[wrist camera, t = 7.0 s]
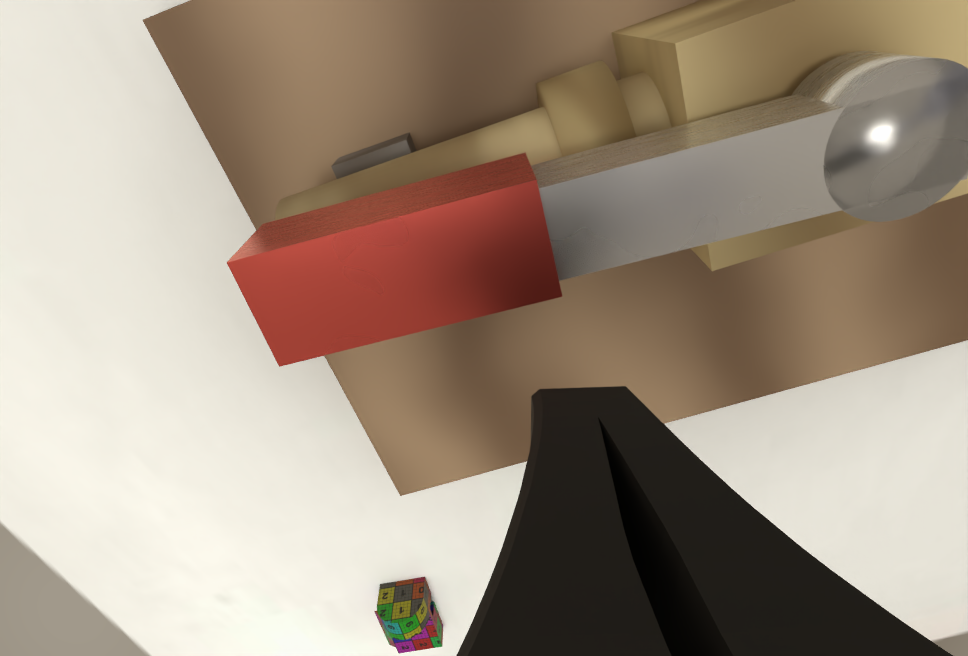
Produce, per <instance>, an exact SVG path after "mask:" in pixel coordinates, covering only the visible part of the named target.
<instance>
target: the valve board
mask: <svg viewBox="0 0 968 656" xmlns="http://www.w3.org/2000/svg"><path fill="white" fill-rule="evenodd" d="M143 22H144V24H145V26H146V27H147V29H148V31H149V33H150V35H151V37H152V39H153V40H154V42H155V44H156V46H157V48H158V50H159V51H160V53H161V55H162V57H163V59H164V61H165V62H166V64H167V66H168V68H169V70H170V72H171V74H172V75H173V77H174V79H175V81H176V83H177V85H178V86H179V88H180V90H181V92H182V94H183V96H184V98H185V99H186V101H187V103H188V105H189V107H190V109H191V110H192V112H193V114H194V116H195V118H196V120H197V122H198V123H199V125H200V127H201V129H202V131H203V133H204V134H205V136H206V138H207V140H208V142H209V144H210V145H211V147H212V149H213V151H214V153H215V155H216V157H217V158H218V160H219V162H220V164H221V166H222V168H223V169H224V171H225V173H226V175H227V177H228V179H229V181H230V182H231V184H232V186H233V188H234V190H235V192H236V193H237V195H238V197H239V199H240V201H241V203H242V204H243V206H244V208H245V210H246V212H247V214H248V216H249V217H250V219H251V221H252V223H253V225H254V227H255V228H256V230H258V229H259V228H260V226H261V225H262V224H264V223H268V222H272V221H275V220H279V219H283V218H286V217H290V216H294V215H297V214H301V213H305V212H308V211H312V210H316V209H319V208H323V207H327V206H330V205H334V204H338V203H341V202H345V201H349V200H352V199H356V198H360V197H363V196H367V195H371V194H374V193H378V192H382V191H386V190H389V189H393V188H397V187H400V186H404V185H408V184H411V183H415V182H419V181H422V180H426V179H430V178H433V177H437V176H441V175H444V174H448V173H452V172H455V171H459V170H463V169H466V168H470V167H474V166H477V165H481V164H485V163H488V162H492V161H496V160H499V159H503V158H507V157H510V156H514V155H518V154H521V153H526V155H527V158H528V160H529V162H530V165H535V164H538V163H542V162H546V161H549V160H553V159H557V158H560V157H564V156H568V155H572V154H575V153H579V152H583V151H586V150H590V149H594V148H598V147H601V146H605V145H609V144H612V143H616V142H620V141H623V140H627V139H631V138H635V137H638V136H642V135H646V134H649V133H653V132H657V131H660V130H664V129H668V128H672V127H675V126H679V125H683V124H686V123H690V122H694V121H698V120H701V119H705V118H709V117H712V116H716V115H720V114H723V113H727V112H731V111H735V110H738V109H742V108H746V107H749V106H753V105H757V104H760V103H764V102H768V101H772V100H775V99H779V98H783V97H786V96H790V95H792V94H793V92H794V91H795V89H796V88H797V87H798V86H799V85H800V83H801V82H802V81H803V80H804V79H805V78H806V77H807V76H808V75H809V74H811V73H812V72H813V71H814V70H816V69H817V68H818V67H820V66H821V65H823V64H825V63H826V62H828V61H830V60H832V59H834V58H836V57H838V56H841V55H844V54H847V53H852V52H857V51H875V52H884V53H894V54H903V55H913V56H922V57H931V58H941V59H947V60H951V61H954V62H957V63H959V64H961V65H963V66H965V67H966V68H968V0H190V1H188V2H186V3H183V4H181V5H178V6H176V7H173V8H171V9H168V10H166V11H163V12H161V13H159V14H156V15H154V16H151V17H149V18H146V19H144V20H143ZM559 283H560V288H561V292H562V297H559V298H555V299H551V300H547V301H543V302H539V303H535V304H531V305H527V306H523V307H519V308H515V309H510V310H506V311H502V312H498V313H494V314H490V315H486V316H482V317H478V318H474V319H470V320H466V321H462V322H458V323H454V324H450V325H446V326H442V327H437V328H433V329H429V330H425V331H421V332H417V333H413V334H409V335H405V336H401V337H397V338H393V339H389V340H385V341H381V342H377V343H373V344H369V345H365V346H360V347H356V348H352V349H348V350H344V351H340V352H336V353H332V354H328V355H324V356H325V358H326V359H327V361H328V363H329V365H330V367H331V369H332V370H333V372H334V374H335V376H336V378H337V380H338V382H339V383H340V385H341V387H342V389H343V391H344V393H345V394H346V396H347V398H348V400H349V402H350V404H351V405H352V407H353V409H354V411H355V413H356V415H357V417H358V418H359V420H360V422H361V424H362V426H363V428H364V429H365V431H366V433H367V435H368V437H369V439H370V441H371V442H372V444H373V446H374V448H375V450H376V452H377V453H378V455H379V457H380V459H381V461H382V463H383V465H384V466H385V468H386V470H387V472H388V474H389V476H390V477H391V479H392V481H393V483H394V485H395V487H396V488H397V490H398V492H399V494H400V496H402V495H406V494H409V493H413V492H416V491H420V490H424V489H427V488H431V487H435V486H438V485H442V484H446V483H449V482H453V481H457V480H460V479H464V478H467V477H471V476H475V475H478V474H482V473H486V472H489V471H493V470H497V469H500V468H504V467H507V466H511V465H515V464H518V463H522V462H526V461H527V460H528V456H529V452H530V445H531V396H532V395H533V394H534V393H535V392H537V391H538V390H539V389H553V388H583V387H613V386H626V387H627V388H628V389H629V390H630V391H631V392H632V393H633V394H634V395H635V396H636V397H637V398H638V399H639V400H640V401H641V402H642V403H643V404H644V405H645V406H646V407H647V408H648V409H649V410H650V411H651V412H652V413H653V414H654V415H655V416H656V417H657V418H658V419H659V420H660V421H661V422H662V423H663V424H664V423H668V422H671V421H675V420H679V419H682V418H686V417H690V416H693V415H697V414H700V413H704V412H708V411H711V410H715V409H719V408H722V407H726V406H730V405H733V404H737V403H740V402H744V401H748V400H751V399H755V398H759V397H762V396H766V395H770V394H773V393H777V392H781V391H784V390H788V389H791V388H795V387H799V386H802V385H806V384H810V383H813V382H817V381H821V380H824V379H828V378H831V377H835V376H839V375H842V374H846V373H850V372H853V371H857V370H861V369H864V368H868V367H872V366H875V365H879V364H882V363H886V362H890V361H893V360H897V359H901V358H904V357H908V356H912V355H915V354H919V353H922V352H926V351H930V350H933V349H937V348H941V347H944V346H948V345H952V344H955V343H959V342H963V341H966V340H968V179H965V180H961V181H960V182H959V183H958V184H957V185H956V186H955V187H954V188H953V189H952V190H951V191H950V192H949V193H947V194H946V195H945V196H944V197H942V198H941V199H940V200H939V201H937V202H936V203H934V204H933V205H931V206H930V207H928V208H926V209H924V210H922V211H920V212H918V213H916V214H913V215H911V216H908V217H905V218H902V219H898V220H893V221H884V222H874V221H866V220H861V219H858V218H856V217H853V216H851V215H849V214H847V213H846V212H844V211H842V210H841V211H837V212H833V213H829V214H825V215H821V216H817V217H813V218H809V219H805V220H801V221H797V222H793V223H789V224H785V225H781V226H777V227H773V228H769V229H765V230H761V231H757V232H753V233H749V234H745V235H741V236H737V237H733V238H729V239H725V240H721V241H717V242H713V243H709V244H705V245H701V246H697V247H693V248H689V249H685V250H681V251H677V252H673V253H669V254H665V255H661V256H657V257H653V258H649V259H645V260H641V261H637V262H633V263H629V264H625V265H621V266H617V267H613V268H609V269H605V270H601V271H597V272H593V273H589V274H585V275H581V276H577V277H573V278H569V279H565V280H560V281H559Z"/></svg>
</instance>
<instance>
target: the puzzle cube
mask: <svg viewBox="0 0 968 656" xmlns="http://www.w3.org/2000/svg"><path fill="white" fill-rule="evenodd" d="M374 612H375V614H376V616H377V618H378V620H379V623H380V625H381V627H382V629H383V631H384V634H385V636H386V638H387V640H388V642H389V645H391V646H394V647H396V648H397V651H398V653H404V652H410V651H416V650H423V649H429V648H435V647H442V640H443V624H442V622H441V619H440V616H439V614H438V611H437V608H436V605H435V603H434V602H431V592H430V589H429V587H428V584H427V581H426V579H425V577H421V578H415V579H409V580H403V581H397V582H391V583H385V584H380V589H379V596H378V603H377V611H374Z"/></svg>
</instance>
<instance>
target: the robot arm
mask: <svg viewBox="0 0 968 656" xmlns="http://www.w3.org/2000/svg"><path fill="white" fill-rule="evenodd" d="M457 656H953V655H951V654H950V653H948V652H946V651H945V650H943V649H942V648H940V647H938V645H936V644H935V643H933V642H932V641H930V640H929V639H927V638H926V637H924V636H923V635H921V634H920V633H918V632H917V631H915V630H914V629H912V628H911V627H909V626H908V625H907V624H905V623H904V622H902V621H901V620H899V619H898V618H896V617H895V616H894V615H892V614H891V613H889V612H888V611H887V610H885V609H884V608H883V607H881V606H880V605H878V604H877V603H876V602H874V601H873V600H872V599H870V598H869V597H867V596H866V595H865V594H863V593H862V592H861V591H859V590H858V589H856V588H855V587H854V586H852V585H851V584H849V583H848V582H847V581H845V580H844V579H843V578H841V577H840V576H838V575H837V574H836V573H834V572H833V571H832V570H830V569H829V568H828V567H826V566H825V565H824V564H822V563H821V562H820V561H819V560H817V559H816V558H815V557H813V556H812V555H811V554H809V553H808V552H807V551H806V550H804V549H803V548H802V547H801V546H799V545H798V544H797V543H796V542H794V541H793V540H792V539H791V538H790V537H788V536H787V535H786V534H785V533H783V532H782V531H781V530H780V529H779V528H777V527H776V526H775V525H774V524H773V523H771V522H770V521H769V520H768V519H767V518H765V517H764V516H763V515H762V514H760V513H759V512H758V511H757V510H756V509H754V508H753V507H752V506H751V505H750V504H749V503H748V502H746V501H745V500H744V499H743V498H742V497H741V496H740V495H738V494H737V493H736V492H735V491H734V490H733V489H732V488H730V487H729V486H728V485H727V484H726V483H725V482H724V481H723V480H722V479H721V478H720V477H719V476H717V475H716V474H715V473H714V472H713V471H712V470H711V469H710V468H709V467H708V466H707V465H705V464H704V463H703V462H702V461H701V460H700V459H699V458H698V457H697V456H696V455H695V454H694V453H693V452H692V451H691V450H690V449H689V448H688V447H687V446H686V445H685V444H684V443H682V442H681V441H680V440H679V439H678V438H677V437H676V436H675V435H674V434H673V433H672V432H671V431H670V430H669V429H668V428H667V427H666V426H665V425H664V424H663V423H662V422H661V421H660V420H659V419H658V418H657V417H656V416H655V415H654V414H653V413H652V412H651V411H650V410H649V409H648V408H647V407H646V406H645V405H644V404H643V403H642V402H641V401H640V400H639V399H638V398H637V397H636V396H635V395H634V394H633V393H632V392H631V391H630V390H629V389H628V388H627V387H626V386H613V387H583V388H553V389H539V390H538V391H537V392H535V393H534V394H533V395H532V396H531V445H530V452H529V456H528V460H527V465H526V469H525V473H524V477H523V482H522V486H521V490H520V494H519V497H518V501H517V504H516V507H515V510H514V513H513V516H512V519H511V522H510V525H509V528H508V531H507V534H506V537H505V541H504V544H503V547H502V549H501V552H500V555H499V558H498V560H497V563H496V566H495V568H494V571H493V573H492V576H491V579H490V581H489V584H488V586H487V589H486V591H485V593H484V596H483V598H482V600H481V603H480V605H479V607H478V610H477V612H476V615H475V617H474V619H473V622H472V624H471V626H470V628H469V631H468V633H467V635H466V637H465V639H464V641H463V643H462V645H461V647H460V650H459V652H458V654H457Z"/></svg>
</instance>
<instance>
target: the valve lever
mask: <svg viewBox="0 0 968 656" xmlns="http://www.w3.org/2000/svg"><path fill="white" fill-rule="evenodd" d="M965 179H968V68H966V67H965V66H963V65H961V64H959V63H957V62H954V61H951V60H947V59H941V58H931V57H922V56H913V55H903V54H894V53H884V52H875V51H857V52H852V53H847V54H844V55H841V56H838V57H836V58H834V59H832V60H830V61H828V62H826V63H825V64H823V65H821V66H820V67H818V68H817V69H816V70H814V71H813V72H812V73H811V74H809V75H808V76H807V77H806V78H805V79H804V80H803V81H802V82H801V83H800V85H799V86H798V87H797V88H796V89H795V91H794V92H793V94H792V95H790V96H786V97H783V98H779V99H775V100H772V101H768V102H764V103H760V104H757V105H753V106H749V107H746V108H742V109H738V110H735V111H731V112H727V113H723V114H720V115H716V116H712V117H709V118H705V119H701V120H698V121H694V122H690V123H686V124H683V125H679V126H675V127H672V128H668V129H664V130H660V131H657V132H653V133H649V134H646V135H642V136H638V137H635V138H631V139H627V140H623V141H620V142H616V143H612V144H609V145H605V146H601V147H598V148H594V149H590V150H586V151H583V152H579V153H575V154H572V155H568V156H564V157H560V158H557V159H553V160H549V161H546V162H542V163H538V164H535V165H530V162H529V160H528V158H527V155H526V153H521V154H518V155H514V156H510V157H507V158H503V159H499V160H496V161H492V162H488V163H485V164H481V165H477V166H474V167H470V168H466V169H463V170H459V171H455V172H452V173H448V174H444V175H441V176H437V177H433V178H430V179H426V180H422V181H419V182H415V183H411V184H408V185H404V186H400V187H397V188H393V189H389V190H386V191H382V192H378V193H374V194H371V195H367V196H363V197H360V198H356V199H352V200H349V201H345V202H341V203H338V204H334V205H330V206H327V207H323V208H319V209H316V210H312V211H308V212H305V213H301V214H297V215H294V216H290V217H286V218H283V219H279V220H275V221H272V222H268V223H264V224H262V225H261V226H260V228H259V229H258V230H257V231H256V232H255V233H254V234H253V235H252V236H251V237H250V238H249V239H248V240H247V241H246V242H245V244H244V245H243V246H242V247H241V248H240V249H239V250H238V251H237V252H236V253H235V254H234V255H233V256H232V257H231V258H230V260H229V261H228V262H227V264H228V266H229V268H230V270H231V272H232V274H233V276H234V278H235V280H236V282H237V284H238V286H239V288H240V290H241V292H242V294H243V296H244V298H245V300H246V302H247V304H248V306H249V308H250V310H251V312H252V314H253V316H254V317H255V319H256V321H257V323H258V325H259V327H260V329H261V331H262V333H263V335H264V337H265V339H266V341H267V343H268V345H269V347H270V349H271V351H272V353H273V355H274V357H275V359H276V361H277V363H278V365H279V366H283V365H288V364H292V363H296V362H300V361H304V360H308V359H312V358H316V357H320V356H324V355H328V354H332V353H336V352H340V351H344V350H348V349H352V348H356V347H360V346H365V345H369V344H373V343H377V342H381V341H385V340H389V339H393V338H397V337H401V336H405V335H409V334H413V333H417V332H421V331H425V330H429V329H433V328H437V327H442V326H446V325H450V324H454V323H458V322H462V321H466V320H470V319H474V318H478V317H482V316H486V315H490V314H494V313H498V312H502V311H506V310H510V309H515V308H519V307H523V306H527V305H531V304H535V303H539V302H543V301H547V300H551V299H555V298H559V297H562V292H561V288H560V283H559V281H560V280H565V279H569V278H573V277H577V276H581V275H585V274H589V273H593V272H597V271H601V270H605V269H609V268H613V267H617V266H621V265H625V264H629V263H633V262H637V261H641V260H645V259H649V258H653V257H657V256H661V255H665V254H669V253H673V252H677V251H681V250H685V249H689V248H693V247H697V246H701V245H705V244H709V243H713V242H717V241H721V240H725V239H729V238H733V237H737V236H741V235H745V234H749V233H753V232H757V231H761V230H765V229H769V228H773V227H777V226H781V225H785V224H789V223H793V222H797V221H801V220H805V219H809V218H813V217H817V216H821V215H825V214H829V213H833V212H837V211H841V210H842V211H844V212H846V213H847V214H849V215H851V216H853V217H856V218H858V219H861V220H866V221H874V222H884V221H893V220H898V219H902V218H905V217H908V216H911V215H913V214H916V213H918V212H920V211H922V210H924V209H926V208H928V207H930V206H931V205H933V204H934V203H936V202H937V201H939V200H940V199H941V198H942V197H944V196H945V195H946V194H947V193H949V192H950V191H951V190H952V189H953V188H954V187H955V186H956V185H957V184H958V183H959V182H960V181H961V180H965Z"/></svg>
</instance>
